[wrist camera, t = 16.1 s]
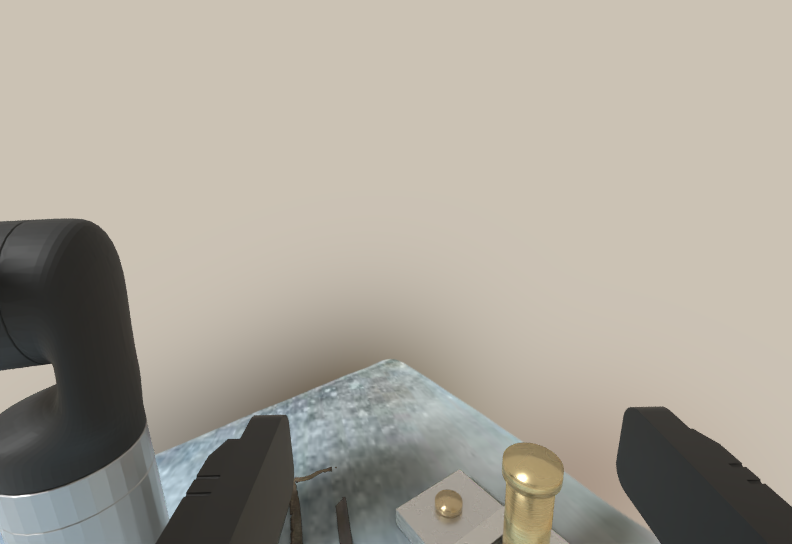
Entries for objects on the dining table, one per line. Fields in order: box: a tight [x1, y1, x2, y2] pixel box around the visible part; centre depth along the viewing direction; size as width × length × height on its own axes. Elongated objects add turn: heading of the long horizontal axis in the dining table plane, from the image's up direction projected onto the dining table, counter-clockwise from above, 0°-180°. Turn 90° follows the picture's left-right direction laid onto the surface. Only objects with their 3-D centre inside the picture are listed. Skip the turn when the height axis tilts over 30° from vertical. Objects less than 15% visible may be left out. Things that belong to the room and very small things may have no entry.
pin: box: [502, 443, 564, 544], centre depth 32 cm, size 4×4×14 cm
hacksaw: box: [289, 467, 352, 544], centre depth 40 cm, size 24×10×2 cm, turn 13°
